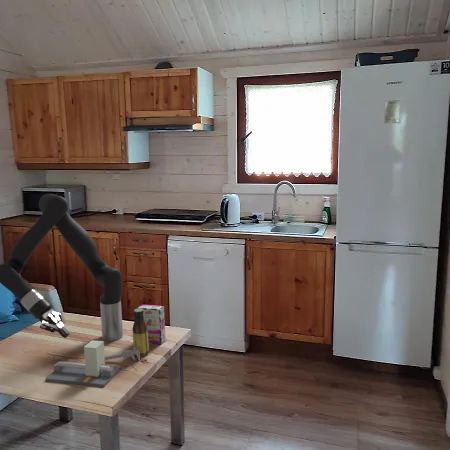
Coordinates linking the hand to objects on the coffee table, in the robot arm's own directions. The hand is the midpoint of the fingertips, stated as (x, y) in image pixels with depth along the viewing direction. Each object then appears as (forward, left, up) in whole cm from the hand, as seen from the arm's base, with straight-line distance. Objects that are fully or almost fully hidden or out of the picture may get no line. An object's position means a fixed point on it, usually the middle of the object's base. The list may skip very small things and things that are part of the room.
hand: (67, 336), depth 172 cm
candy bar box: (-34, +21, -16) cm, 43 cm away
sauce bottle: (-21, +21, -16) cm, 34 cm away
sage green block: (0, +11, -14) cm, 18 cm away
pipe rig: (0, +6, -15) cm, 17 cm away
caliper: (-13, +13, -16) cm, 24 cm away
